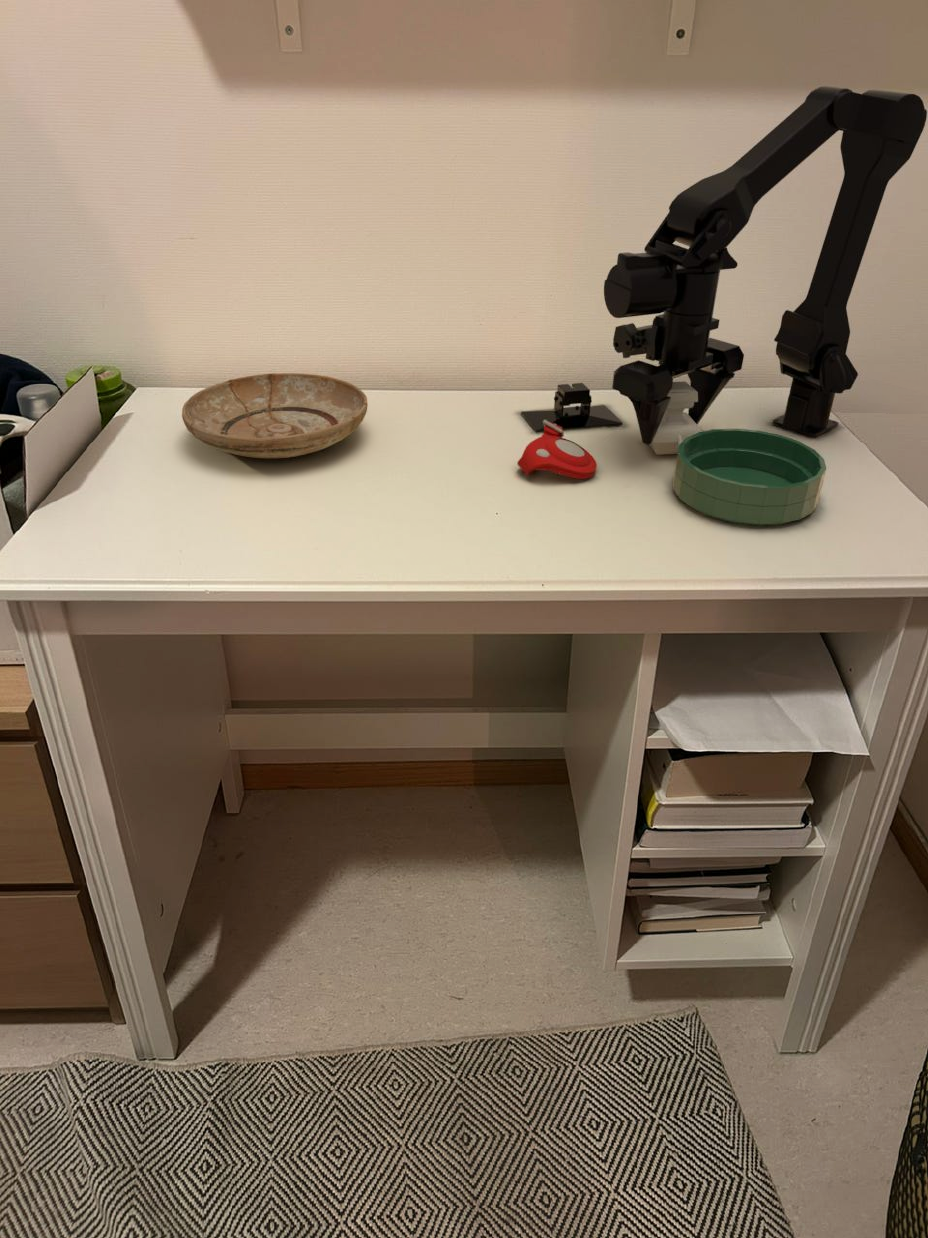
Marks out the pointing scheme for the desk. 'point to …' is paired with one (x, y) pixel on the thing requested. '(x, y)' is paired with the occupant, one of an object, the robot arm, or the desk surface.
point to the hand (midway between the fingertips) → (670, 434)
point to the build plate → (572, 411)
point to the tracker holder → (557, 455)
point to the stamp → (676, 420)
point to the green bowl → (748, 476)
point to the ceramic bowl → (275, 414)
